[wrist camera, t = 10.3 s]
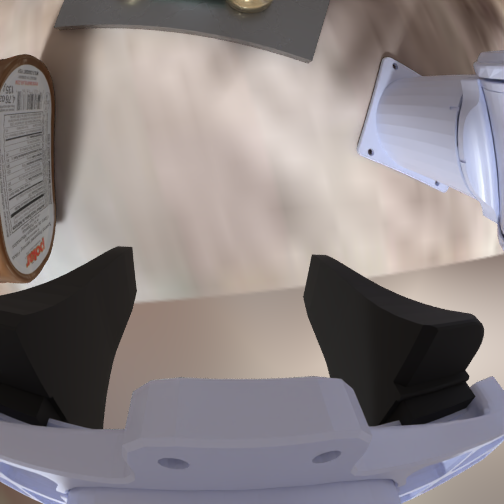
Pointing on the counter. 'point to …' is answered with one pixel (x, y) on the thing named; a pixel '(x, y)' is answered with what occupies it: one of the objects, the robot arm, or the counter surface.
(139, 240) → the counter surface
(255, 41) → the chassis
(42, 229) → the tin
